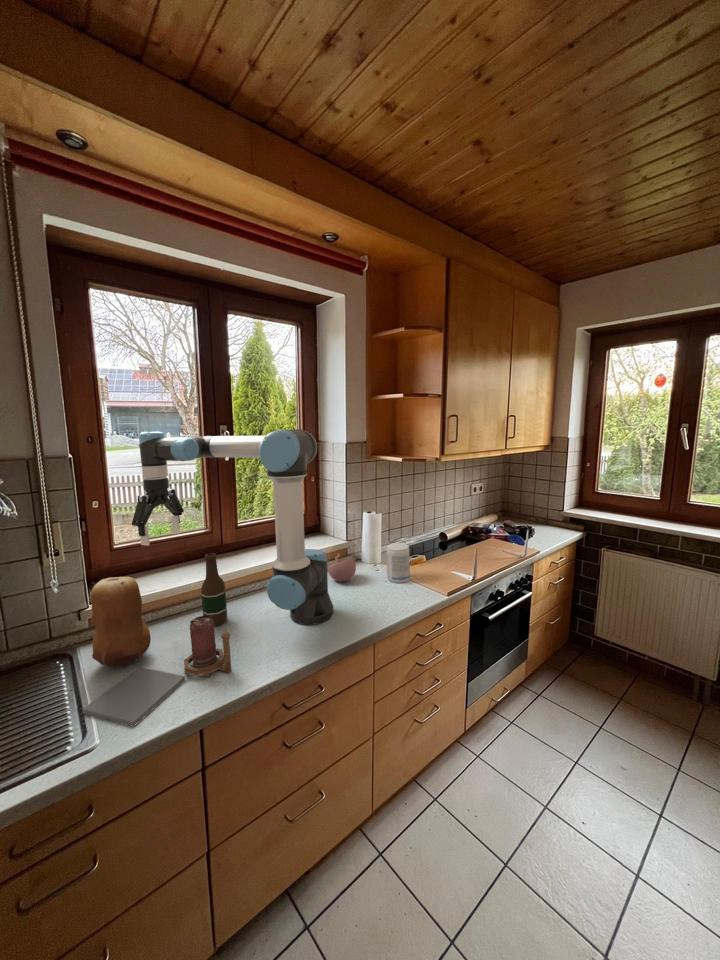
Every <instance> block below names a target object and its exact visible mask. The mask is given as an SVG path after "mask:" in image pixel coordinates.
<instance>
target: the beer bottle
mask: <svg viewBox="0 0 720 960" xmlns="http://www.w3.org/2000/svg"><path fill="white" fill-rule="evenodd" d="M204 560H205V579H204V581H203V582H202V585H201V588H200V595H201V606H202V607H201V608H202V616H211V617H212V619H213V620H214V628H215V627H219V626H221V625H223V624H226V623H227V619H228V607H227V594H226V585H225V582H224V580H223V578H222V577H221V576H220V574H219V570H218V563H217V554H216V553H214V552H211V553H206V554H205V555H204Z"/></svg>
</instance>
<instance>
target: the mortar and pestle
mask: <svg viewBox="0 0 720 960" xmlns="http://www.w3.org/2000/svg"><path fill="white" fill-rule="evenodd" d="M340 556H341V554H340V553H338V554H337V556H335V557H334V559H335V563H331V564H330V565H327V573H328V574H329V576H330V578H331V579H333V580H334V581H336V582H340V583H341V582H347V581H349V580H351V579H352V578H353V576H354V575H355V573H356V571H357V564H356V561H355V559H354V558H353V557H351V558H348V559H345V560H342V561H340V562H339V558H340Z"/></svg>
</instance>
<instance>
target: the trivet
mask: <svg viewBox="0 0 720 960" xmlns="http://www.w3.org/2000/svg"><path fill="white" fill-rule="evenodd" d="M185 681H186V677H185V675H181V674H175V673H171V672H165V671H161V670H155V669H150V668H146V667H141V666H139V667H136V669H135V670H133V671H132V672H130V673H128V675H126V676H125V677H123V678H122V679H121V680H120V681H118V682H117V683H115V684H114V685H113V686H111V687H110V688H108V689H107V690H106V691H105V692H103V693H102V694H101V695H99V696H98V697H97V698H95V699H94V700H92V701H91V702H90V703H88V704H87V705H86V706H84V707H83V708H81V709H82V714H83V715H87V716H90V717H94V718H99V719H102V720H106V721H109V722H114V723H117V722H118V724H121V723H123V724H122V725H125V724H128V725H127V726H129V725H132V726H131V727H133V726H134V725H135V724H136V723H137V722H138V723H140V722H141V721H142V720H143V719H144V718H145V717H147V716H148V714H150V713H149V712H150V711H151V710H152V709H153V708H154V707H155V708H156V707H157V706H159V704H161V703H162V702H163V701H164V700H165V699H167V697H168V696H169V695H171V694H172V693H173V692H174V691H175V690H176V689H177V688H179V686H181V685H182V684H183V683H184V682H185ZM160 702H161V703H160ZM155 708H154V709H155ZM154 709H153V710H154ZM153 710H152V711H153ZM152 711H151V712H152ZM144 716H145V717H144ZM143 717H144V718H143ZM142 718H143V719H142ZM141 719H142V720H141ZM140 720H141V721H140ZM139 721H140V722H139ZM138 723H137V724H138ZM137 724H136V725H137ZM136 725H135V726H136ZM135 726H134V727H135Z"/></svg>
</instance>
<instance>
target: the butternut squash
mask: <svg viewBox="0 0 720 960" xmlns="http://www.w3.org/2000/svg"><path fill="white" fill-rule="evenodd" d="M142 602H143V600H142V595H141V591H140V587H139V584H138V582H137V580H136V579H135V578H133V577H131V576H115V577H114V576H113V577H112V576H111V577H107V578H103V579H101V580H99V581H98V582H96V584H95V585H94V586H93V587H92V589H91V592H90V603H91V611H92V615H91V618H90V619H91V623H92V624H93V626H94V627H95V631H94V635H93V639H92V655H91V656H92V657H91V658H92V659H93V660H94V661H96V662H97V663H99V664H100V665H103V666H104V667H108V668H115V667H120V666H126V667H127V666H128V665H131V664H133V663H135V662H137V661H138V659H140V658H141V657H143V655H145V653H146V652H147V651H148V649H150V648H149V647H150V645H151V638H152V637H151V633H150V628H149V627H148V625H147V624H146V622H145V621H144V618H143V616H142V607H143V604H142Z"/></svg>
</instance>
